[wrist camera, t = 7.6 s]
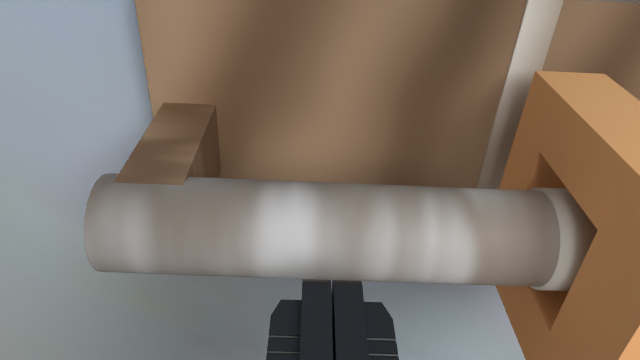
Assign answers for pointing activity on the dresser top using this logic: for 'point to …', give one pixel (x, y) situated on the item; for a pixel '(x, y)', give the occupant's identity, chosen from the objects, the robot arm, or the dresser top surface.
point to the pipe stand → (352, 140)
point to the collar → (598, 204)
